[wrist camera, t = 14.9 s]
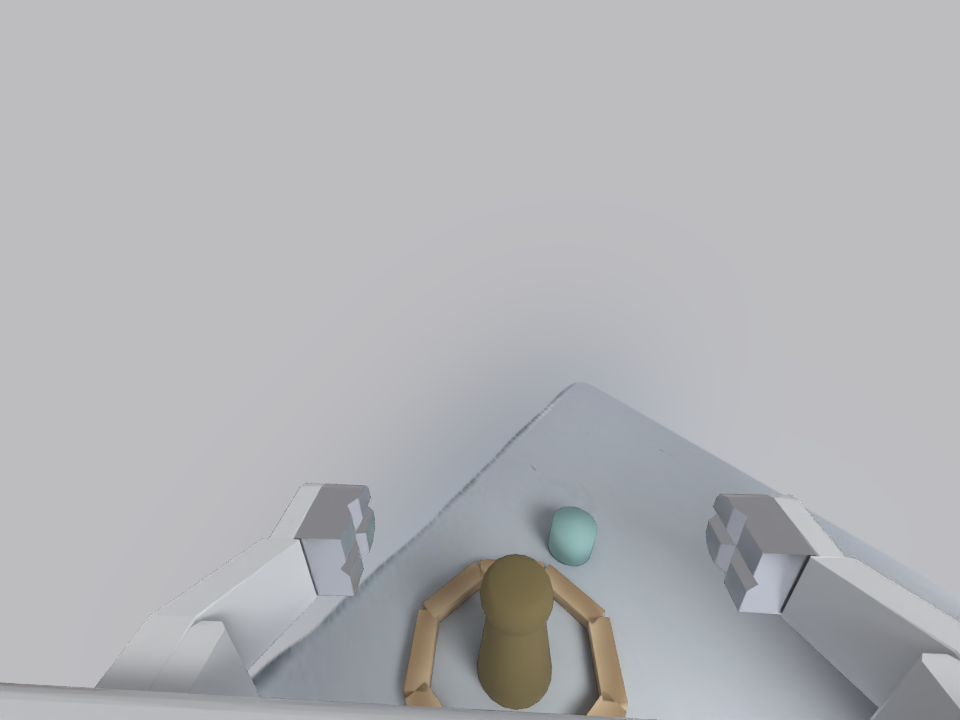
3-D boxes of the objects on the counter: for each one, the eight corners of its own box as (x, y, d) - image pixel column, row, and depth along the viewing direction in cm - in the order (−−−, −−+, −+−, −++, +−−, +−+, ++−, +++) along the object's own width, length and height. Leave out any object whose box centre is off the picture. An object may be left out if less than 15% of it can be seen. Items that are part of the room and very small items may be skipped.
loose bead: (548, 526, 46) (552, 503, 44) (588, 533, 45) (595, 510, 44) (548, 561, 42) (552, 537, 40) (592, 569, 42) (599, 545, 40)
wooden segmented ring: (596, 571, 41) (597, 563, 41) (646, 809, 27) (649, 801, 26) (429, 565, 42) (428, 557, 42) (388, 791, 28) (385, 783, 27)
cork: (491, 617, 38) (490, 531, 32) (558, 641, 36) (568, 554, 31) (465, 691, 33) (460, 602, 27) (542, 723, 31) (551, 635, 26)
